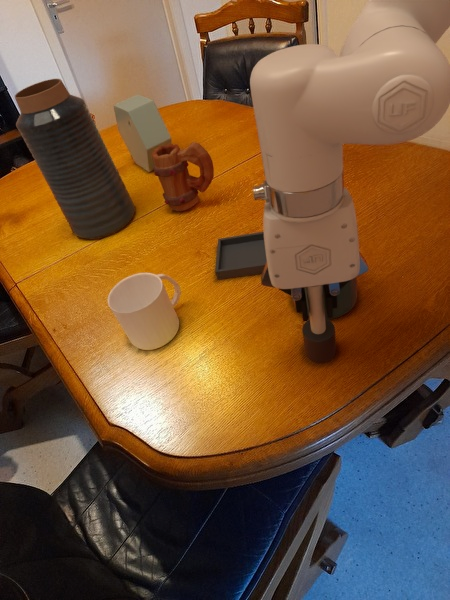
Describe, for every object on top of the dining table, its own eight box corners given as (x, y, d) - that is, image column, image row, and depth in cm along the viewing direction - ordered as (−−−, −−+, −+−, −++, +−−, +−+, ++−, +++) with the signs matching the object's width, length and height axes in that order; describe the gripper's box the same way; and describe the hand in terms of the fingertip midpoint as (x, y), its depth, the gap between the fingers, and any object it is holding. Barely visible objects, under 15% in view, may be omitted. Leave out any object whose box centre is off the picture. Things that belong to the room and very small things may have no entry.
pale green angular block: (172, 172, 123) (171, 123, 103) (150, 183, 120) (145, 135, 101) (142, 132, 126) (136, 77, 106) (120, 142, 124) (110, 88, 104)
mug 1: (145, 360, 65) (122, 322, 59) (121, 332, 71) (98, 294, 65) (203, 318, 69) (188, 278, 63) (176, 294, 75) (159, 256, 69)
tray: (284, 236, 80) (283, 228, 79) (288, 270, 73) (286, 261, 72) (220, 246, 83) (217, 238, 81) (217, 279, 76) (214, 271, 74)
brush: (333, 337, 60) (329, 267, 51) (338, 361, 57) (334, 291, 48) (303, 340, 61) (294, 272, 52) (306, 364, 58) (297, 296, 49)
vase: (118, 241, 93) (46, 99, 71) (62, 241, 99) (-20, 109, 77) (147, 201, 103) (92, 67, 82) (94, 203, 109) (30, 78, 88)
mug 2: (160, 214, 97) (137, 156, 87) (174, 196, 102) (154, 138, 92) (215, 215, 92) (198, 153, 81) (227, 195, 97) (212, 134, 86)
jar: (350, 272, 69) (350, 223, 62) (362, 315, 62) (363, 266, 55) (291, 280, 71) (284, 234, 64) (295, 323, 64) (288, 276, 57)
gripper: (225, 223, 40) (256, 340, 52) (398, 194, 37) (387, 326, 49) (228, 184, 45) (256, 299, 58) (379, 157, 42) (374, 284, 55)
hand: (316, 311), depth 53 cm, fingers closed
